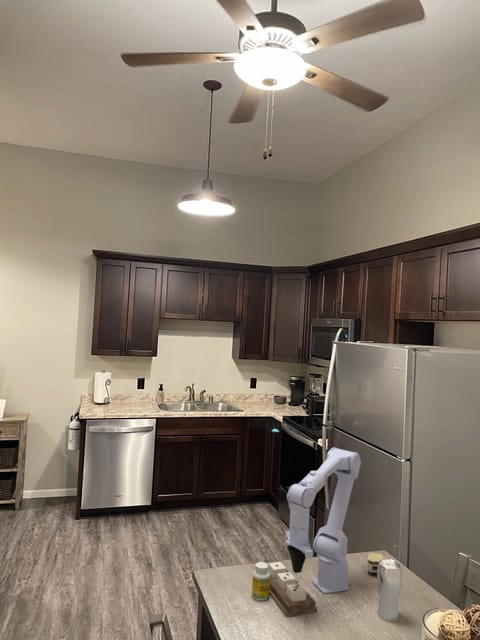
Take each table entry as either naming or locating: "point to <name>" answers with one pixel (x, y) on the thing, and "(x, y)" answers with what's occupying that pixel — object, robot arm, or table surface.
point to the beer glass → (389, 588)
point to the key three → (296, 592)
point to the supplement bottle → (261, 582)
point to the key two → (285, 580)
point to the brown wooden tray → (286, 604)
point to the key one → (276, 569)
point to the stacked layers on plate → (373, 562)
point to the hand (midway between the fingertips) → (297, 571)
